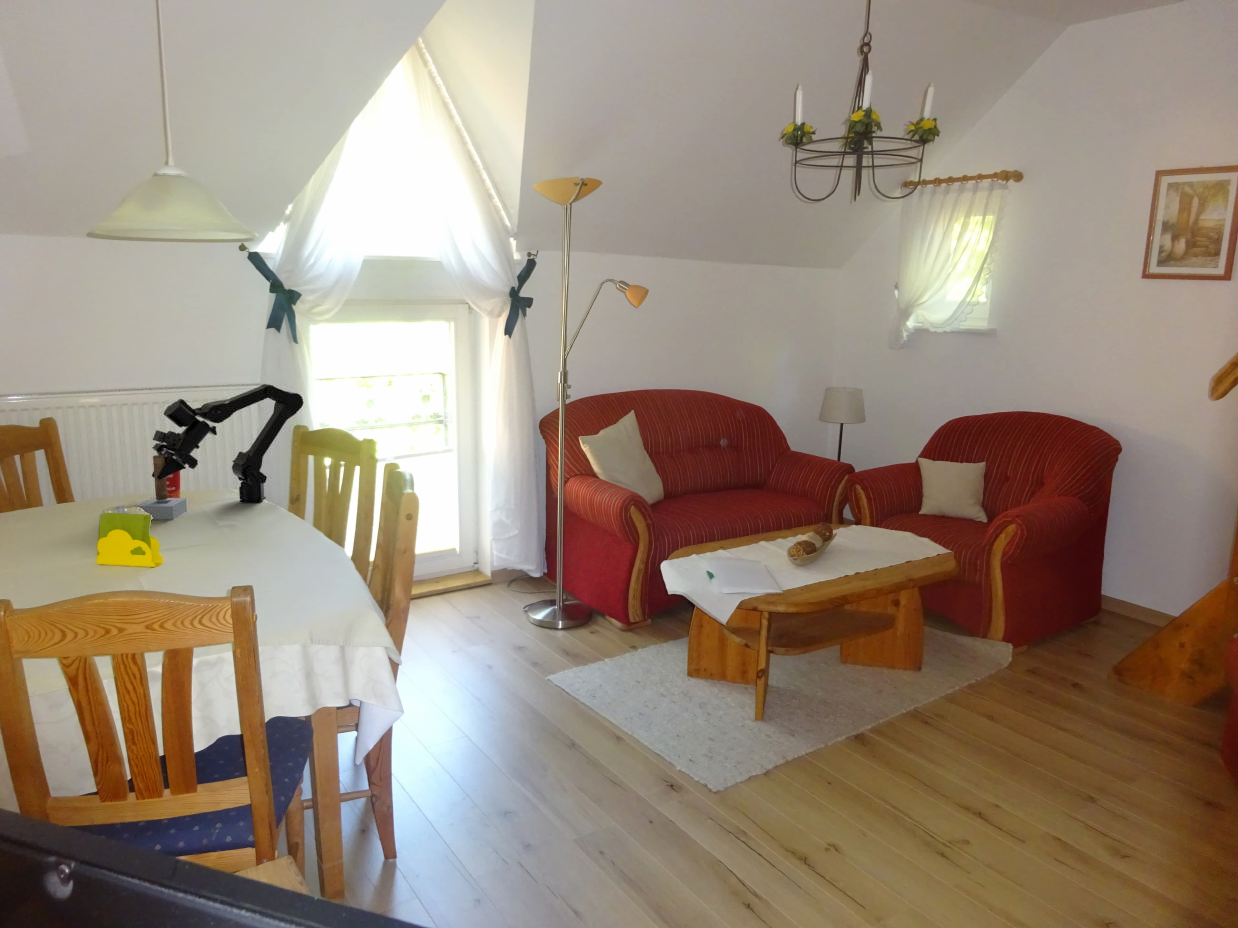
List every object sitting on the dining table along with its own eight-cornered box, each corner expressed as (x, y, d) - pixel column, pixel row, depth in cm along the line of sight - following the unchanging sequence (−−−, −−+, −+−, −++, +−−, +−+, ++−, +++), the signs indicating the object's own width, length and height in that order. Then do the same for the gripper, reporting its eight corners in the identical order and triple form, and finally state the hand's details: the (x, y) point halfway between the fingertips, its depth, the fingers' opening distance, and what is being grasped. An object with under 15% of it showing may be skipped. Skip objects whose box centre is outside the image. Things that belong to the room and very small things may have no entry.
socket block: (187, 510, 257) (186, 498, 256) (173, 519, 247) (172, 506, 246) (152, 510, 256) (151, 497, 255) (137, 519, 246) (136, 505, 245)
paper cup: (150, 501, 266) (147, 458, 263) (170, 496, 273) (167, 454, 271) (170, 504, 264) (167, 460, 261) (189, 499, 271) (187, 456, 268)
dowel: (169, 498, 252) (166, 455, 249) (161, 500, 249) (158, 457, 246) (161, 497, 252) (158, 454, 250) (153, 499, 250) (150, 456, 247)
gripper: (157, 416, 255) (120, 456, 249) (184, 424, 243) (146, 466, 237) (185, 439, 262) (150, 478, 256) (213, 447, 251) (177, 489, 245)
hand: (155, 477), depth 248 cm, fingers closed on dowel, 3 cm apart
